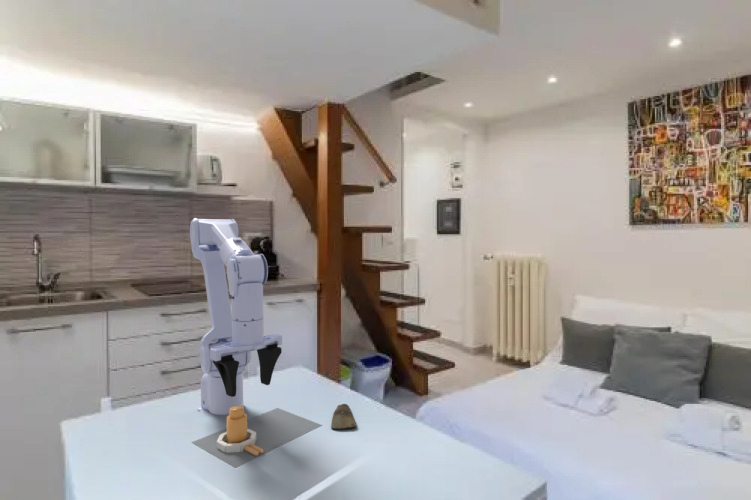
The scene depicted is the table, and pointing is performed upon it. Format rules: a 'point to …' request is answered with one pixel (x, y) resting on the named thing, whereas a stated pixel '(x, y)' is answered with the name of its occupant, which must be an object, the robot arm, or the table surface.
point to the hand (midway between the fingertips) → (248, 389)
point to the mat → (257, 437)
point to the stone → (343, 418)
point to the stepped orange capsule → (236, 425)
